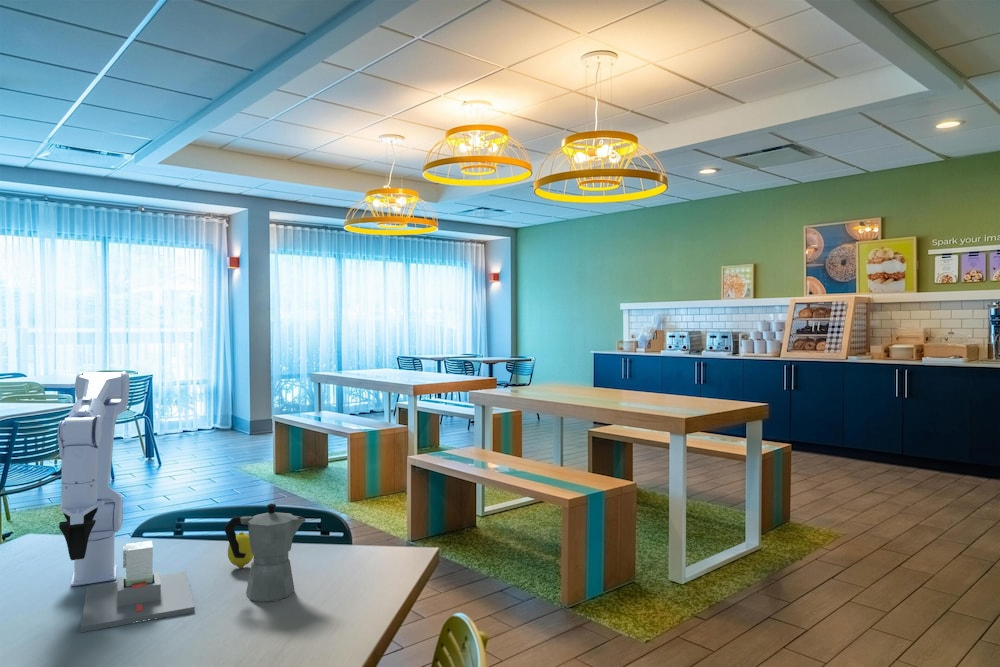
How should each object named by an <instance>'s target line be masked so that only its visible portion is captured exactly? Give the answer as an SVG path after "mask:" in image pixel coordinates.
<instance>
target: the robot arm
mask: <svg viewBox="0 0 1000 667" xmlns="http://www.w3.org/2000/svg"><path fill="white" fill-rule="evenodd" d="M74 391H75V397H76V401H75V402H74V404H73V406H72V408H71V410H70V412H69V415H68V417H65V418H64V420H60V421H59V423H58V427H57V443H58V450H59V455H58V456H59V458H60V459H61V486H60V488H61V489H60V490H61V493H60V494H61V495H60V497H61V498H60V499H61V502H60V503H61V504H60V506H59V511H60V512H62V513H63V514H62V515H63V516H64V518H65V521H59V524H58V527H59V531H60V532H61V533H62V535H63V537H64V539H65V542H66V545H67V551H68V556H69V559H70V561H74V562H73V563H74V564H73V566H74V568H73V572H72V576H71V582H70V586H71V587H76V586H83V585H90V584H96V583H97V584H98V583H102V582H110V581H116V579H117V567H118V566H117V563H115V536H116V534H115V533H118V532H119V531H120V530H121V529H122V527H123V521H124V506H123V503H124V502H123V497H122V495H121V494H120V493H119V492H118V491H116V490H114V489H113V488H111V487H110V483H111V473H112V472H111V471H112V462H113V450H114V439H115V438H114V437H115V428H116V427H115V426H116V424H117V423H116V422H117V419H118V417H119V415H120V414H122V413H124V412H126V411H127V407H128V406H129V396H130V375H129V373H128V372H127V371H126V370H125V371H111V372H110V371H106V372H105V371H104V372H103V371H102V372H101V371H98V372H96V371H95V372H93V371H92V372H91V371H90V372H89V371H88V372H87V371H86V372H84V371H80V372H79V373H78V374H76V377H75V382H74Z"/></svg>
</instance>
